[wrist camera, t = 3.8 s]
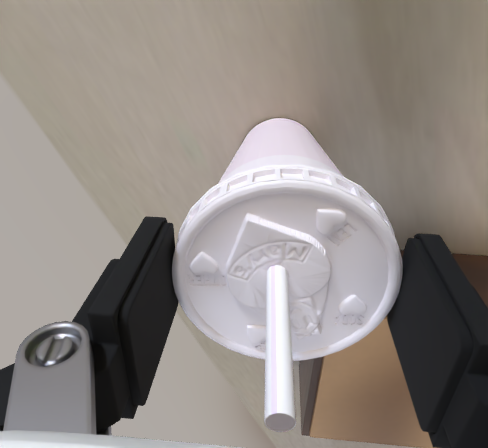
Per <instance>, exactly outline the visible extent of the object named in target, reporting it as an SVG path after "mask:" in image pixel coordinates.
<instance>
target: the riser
mask: <svg viewBox="0 0 488 448" xmlns="http://www.w3.org/2000/svg"><path fill="white" fill-rule="evenodd" d="M400 253H401V257H403V253H404V250H400ZM452 255H453V257H454V259H455V260H456V262H457V263H458V265H459V266H460V268H461V270H462V271H463V273H464V274H465V276H466V277H467V279H468V281H469V282H470V284H471V285H472V286H473V287H474V288H475V289H476V291H477V292H478V294H479V295H480V297H481V298H482V300H483V301H484V303H485V305H486V306H487V308H488V256H478V255H463V254H452ZM299 380H300V406H301V432H302V435H306V436H310V437H316V438H326V439H336V440H347V441H357V442H367V443H377V444H388V445H398V446H408V447H418V448H436V447H433V446H432V443H431V440H430V437H429V434H428V432H424V431H422V429H421V428H420V425H419V422H418V419H417V416H416V412H415V409H414V406H413V403H412V400H411V396H410V393H409V390H408V387H407V383H406V380H405V377H404V374H403V371H402V367H401V364H400V361H399V358H398V354H397V351H396V348H395V345H394V342H393V338H392V335H391V332H390V329H389V326H388V322H387V316H386V317H385V318H384V319H383V321H382V322H381V323H380V324H379V325H378V326H377V327H376V328H375V329H374V330H373V331H372V332H370V333H369V334H368V335H367V336H365V337H364V338H362V339H361V340H359V341H358V342H356V343H354V344H353V345H351V346H349V347H347V348H345V349H343V350H341V351H338V352H335V353H332V354H329V355H326V356H323V357H318V358H313V359H308V360H300V365H299Z"/></svg>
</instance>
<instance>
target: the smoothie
mask: <svg viewBox="0 0 488 448" xmlns="http://www.w3.org/2000/svg"><path fill="white" fill-rule="evenodd" d="M402 269H403V265H402V257H401V253H400V249H399V246H398V243H397V241H396V238H395V235H394V229H393V227H392V225H391V224H390V222H389V220H388V218H387V216H386V214H385V212H384V210H383V208H382V206H381V205H380V204H379V203H378V202H377V201H376V200H375V199H374V198H373V197H372V196H370V195H369V194H368V193H367V192H366V191H365V190H364V189H363V188H362V187H361V186H360V185H358V184H356V183H354V182H352V181H350V180H349V179H347V178H345V177H344V176H343V175H342V174H341V172H340V171H339V170H338V168H337V167H336V166H335V165H334V163H333V162H332V161H331V159H330V158H329V157H328V155H327V154H326V153H325V151H324V150H323V149H322V147H321V146H320V145H319V144H318V142H317V141H316V140H315V138H314V137H313V136H312V134H311V133H310V132H309V131H308V130H307V129H306V128H305V127H304V126H303V125H301V124H300V123H298V122H296V121H293V120H290V119H285V118H275V119H270V120H266V121H264V122H262V123H260V124H258V125H257V126H255V127H254V128H253V129H252V130H251V131H250V132H249V133H248V134H247V136H246V138H245V139H244V141H243V143H242V144H241V146H240V148H239V149H238V151H237V153H236V154H235V156H234V158H233V159H232V161H231V163H230V164H229V166H228V168H227V169H226V171H225V173H224V174H223V176H222V178H221V179H220V181H219V183H218V184H217V185H215V186H214V187H212V188H210V189H209V190H208V191H207V192H206V193H205V194H204V195H203V197H202V198H201V199H200V200H199V201H198V202H197V203H196V204H195V205H194V206H193V207H192V208H191V209H190V211H189V213H188V215H187V217H186V219H185V221H184V223H183V225H182V227H181V229H180V230H179V235H178V241H177V245H176V248H175V252H174V256H173V262H172V280H173V286H174V290H175V293H176V296H177V299H178V301H179V303H180V305H181V307H182V309H183V310H184V312H185V314H186V315H187V316H188V318H189V319H190V320H191V321H192V323H193V324H194V325H195V326H196V327H197V328H198V329H199V330H201V331H202V332H203V333H204V334H205V335H207V336H208V337H209V338H211V339H212V340H214V341H215V342H217V343H219V344H220V345H222V346H224V347H226V348H228V349H230V350H233V351H235V352H238V353H241V354H243V355H246V356H250V357H255V358H259V359H264V360H265V417H264V423H265V425H266V427H267V428H268V429H270V430H272V431H276V432H286V431H290V430H292V429H293V428H294V427H295V426H296V410H295V393H294V376H293V361H300V360H308V359H313V358H318V357H323V356H326V355H329V354H332V353H335V352H338V351H341V350H343V349H345V348H347V347H349V346H351V345H353V344H354V343H356V342H358V341H359V340H361V339H362V338H364V337H365V336H367V335H368V334H369V333H370V332H372V331H373V330H374V329H375V328H376V327H377V326H378V325H379V324H380V323H381V322H382V321H383V319H384V318H385V317H386V316H387V314H388V313H389V311H390V310H391V308H392V306H393V305H394V303H395V301H396V298H397V296H398V293H399V290H400V286H401V282H402Z"/></svg>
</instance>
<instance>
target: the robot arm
mask: <svg viewBox="0 0 488 448" xmlns="http://www.w3.org/2000/svg"><path fill="white" fill-rule="evenodd" d="M174 252H175V240H174V228H173V224H172V223H167V220H166V218H162V217H145V218H144V219H143V221H142V223H141V224H140V226H139V228H138V229H137V231H136V233H135V234H134V236H133V238H132V239H131V241H130V243H129V244H128V246H127V248H126V249H125V251H124V253H123V255H122V256H121V258H120V259H113V260H111V261H110V263H109V264H108V265H107V267H106V269H105V270H104V272H103V273H102V275H101V276H100V278H99V280H98V282H97V283H96V284H95V286H94V288H93V289H92V291H91V292H90V294H89V295H88V297H87V299H86V300H85V302H84V303H83V305H82V307H81V309H80V310H79V311H78V313H77V315H76V316H75V318H74V319H73V321H72V322H68V321H64V322H55V323H52V324H49V325H45V326H43V327H41V328H39V329H38V330H36V331H34V332H33V333H31V334H30V335H29V336H27V337H26V338H25V340H24V341H23V342H22V343H21V344H20V346H19V349H18V351H17V354H16V360H15V363H14V364H12V365H10V366H8V367H6V368H3V369H1V370H0V448H242V447H231V446H221V445H210V444H199V443H188V442H177V441H166V440H155V439H145V438H134V437H123V436H112V435H111V425H113V424H115V423H116V422H118V421H119V420H120V419H121V418H130V419H133V418H134V415H135V413H136V410H137V407H138V405H141V406H143V405H145V403H146V400H147V398H148V394H149V391H150V388H151V385H152V382H153V379H154V376H155V373H156V370H157V367H158V364H159V361H160V358H161V355H162V352H163V349H164V346H165V343H166V340H167V337H168V334H169V331H170V328H171V325H172V322H173V319H174V316H175V313H176V310H177V306H178V299H177V296H176V293H175V290H174V286H173V280H172V262H173V256H174ZM402 265H403V269H402V282H401V286H400V290H399V293H398V296H397V298H396V301H395V303H394V305H393V306H392V308H391V310H390V311H389V313H388V314H387V322H388V326H389V329H390V332H391V335H392V338H393V342H394V345H395V348H396V351H397V354H398V358H399V361H400V364H401V367H402V371H403V374H404V377H405V380H406V383H407V387H408V390H409V393H410V396H411V400H412V403H413V406H414V409H415V412H416V416H417V419H418V422H419V425H420V428H421V429H422V431H424V432H428V434H429V437H430V440H431V443H432V446H433V447H436V448H488V308H487V306H486V305H485V303H484V301H483V300H482V298H481V297H480V295H479V294H478V292H477V291H476V289H475V288H474V287H473V286H472V285H471V284H470V282H469V281H468V279H467V277H466V276H465V274H464V273H463V271H462V270H461V268H460V266H459V265H458V263H457V262H456V260H455V259H454V257H453V255H452V254H451V252H450V251H449V249H448V247H447V246H446V244H445V243H444V241H443V240H442V238H441V237H440V236H439V235H432V234H416V235H415V236H414V238H409V239H408V240H407V243H406V246H405V249H404V253H403V257H402Z"/></svg>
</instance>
